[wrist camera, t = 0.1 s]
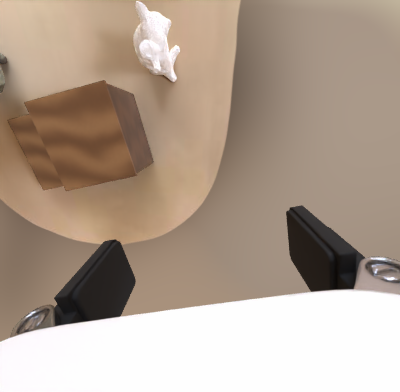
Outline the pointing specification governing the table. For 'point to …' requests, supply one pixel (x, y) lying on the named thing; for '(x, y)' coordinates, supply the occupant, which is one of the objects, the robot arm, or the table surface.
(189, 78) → the table surface
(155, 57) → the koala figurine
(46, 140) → the step shelf
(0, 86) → the spike-topped wooden block
